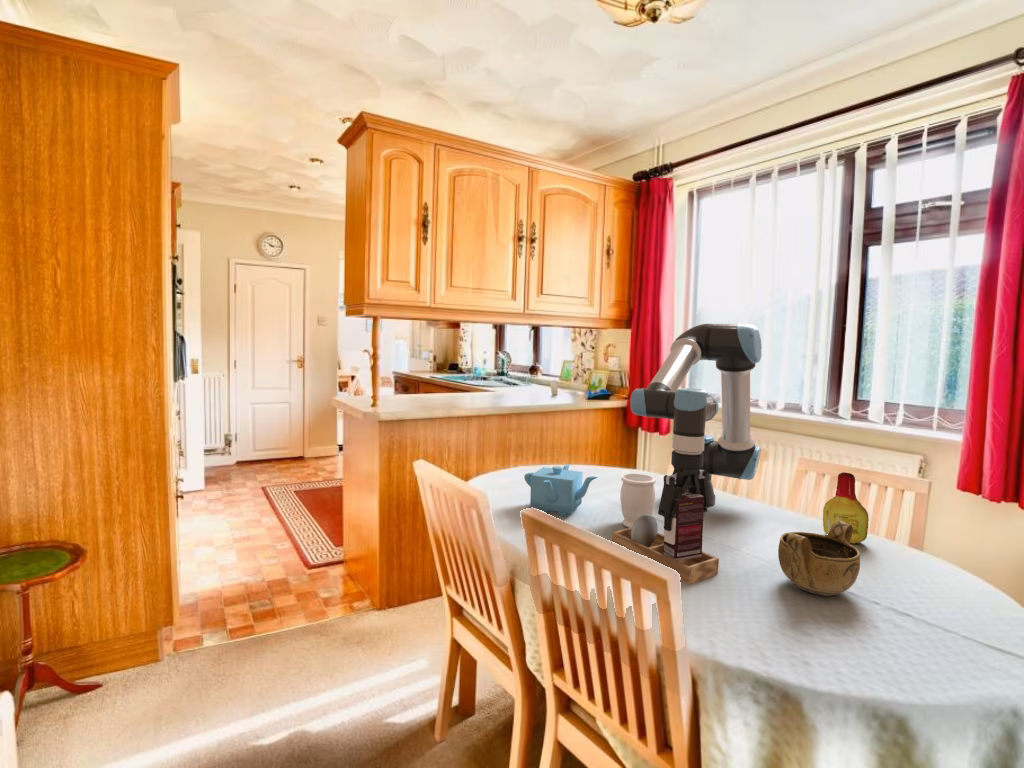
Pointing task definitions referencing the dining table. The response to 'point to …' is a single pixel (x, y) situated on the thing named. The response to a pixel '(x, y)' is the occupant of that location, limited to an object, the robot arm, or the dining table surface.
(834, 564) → the ceramic bowl
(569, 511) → the teakettle
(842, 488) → the bottle
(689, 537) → the supplement box
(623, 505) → the jar
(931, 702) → the dining table surface
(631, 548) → the tray
